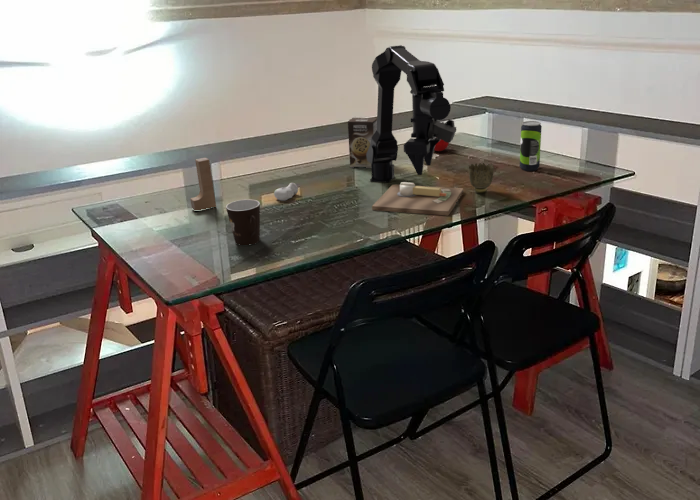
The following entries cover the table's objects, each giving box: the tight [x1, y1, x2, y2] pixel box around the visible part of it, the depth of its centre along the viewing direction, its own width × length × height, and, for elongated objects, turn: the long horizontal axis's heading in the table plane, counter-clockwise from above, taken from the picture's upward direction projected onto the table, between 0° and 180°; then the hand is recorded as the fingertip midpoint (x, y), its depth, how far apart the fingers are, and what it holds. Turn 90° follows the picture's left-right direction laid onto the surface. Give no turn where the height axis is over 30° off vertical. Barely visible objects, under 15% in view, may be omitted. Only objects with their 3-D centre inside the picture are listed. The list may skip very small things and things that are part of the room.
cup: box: [467, 162, 495, 194], centre depth 198 cm, size 8×7×8 cm
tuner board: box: [371, 184, 464, 216], centre depth 195 cm, size 22×20×1 cm
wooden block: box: [189, 157, 217, 210], centre depth 197 cm, size 7×3×15 cm, turn 121°
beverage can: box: [519, 120, 542, 172], centre depth 215 cm, size 6×6×15 cm
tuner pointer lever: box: [399, 181, 446, 196], centre depth 196 cm, size 14×4×3 cm, turn 66°
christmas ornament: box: [434, 140, 450, 152], centre depth 242 cm, size 7×7×10 cm
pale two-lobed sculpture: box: [273, 182, 299, 202], centre depth 205 cm, size 4×8×5 cm
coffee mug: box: [225, 198, 261, 246], centre depth 172 cm, size 12×9×10 cm
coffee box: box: [347, 117, 377, 169], centre depth 229 cm, size 9×6×16 cm
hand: (424, 169), depth 183 cm, fingers open, 9 cm apart
